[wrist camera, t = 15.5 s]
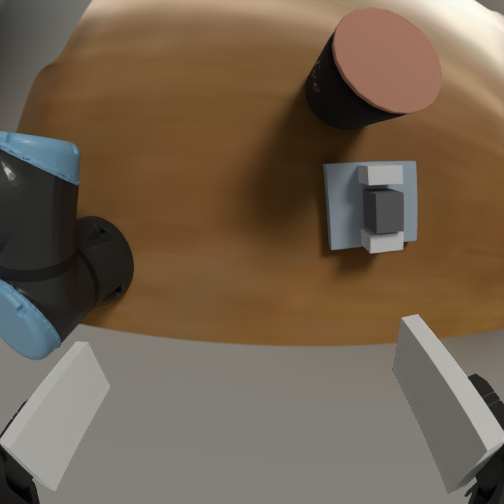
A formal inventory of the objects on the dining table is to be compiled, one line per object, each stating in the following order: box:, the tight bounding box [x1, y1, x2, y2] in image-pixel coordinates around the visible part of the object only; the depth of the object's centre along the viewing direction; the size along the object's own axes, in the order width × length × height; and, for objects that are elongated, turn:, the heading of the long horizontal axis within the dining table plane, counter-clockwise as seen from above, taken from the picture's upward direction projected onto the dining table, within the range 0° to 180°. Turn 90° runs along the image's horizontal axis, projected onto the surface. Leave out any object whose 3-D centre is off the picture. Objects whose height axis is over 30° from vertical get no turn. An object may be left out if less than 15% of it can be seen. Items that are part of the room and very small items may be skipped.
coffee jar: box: [305, 8, 442, 129], centre depth 26 cm, size 11×11×18 cm
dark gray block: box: [363, 188, 404, 234], centre depth 35 cm, size 4×5×5 cm
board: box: [323, 161, 417, 253], centre depth 36 cm, size 14×12×6 cm
